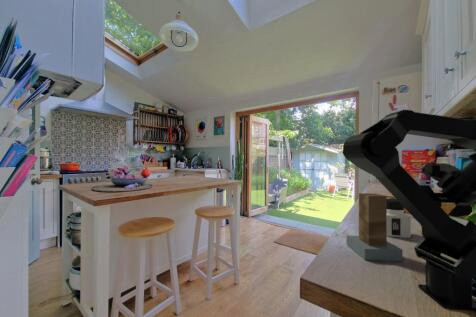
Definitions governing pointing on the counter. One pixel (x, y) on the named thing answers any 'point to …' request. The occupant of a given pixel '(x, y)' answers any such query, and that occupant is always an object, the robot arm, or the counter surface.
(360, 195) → the post
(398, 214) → the container
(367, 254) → the plinth
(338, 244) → the counter surface
